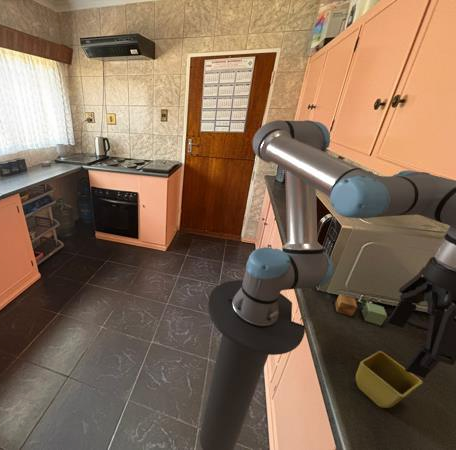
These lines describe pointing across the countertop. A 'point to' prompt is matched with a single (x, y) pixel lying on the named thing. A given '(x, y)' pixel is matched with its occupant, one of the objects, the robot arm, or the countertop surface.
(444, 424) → the countertop surface
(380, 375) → the flower pot
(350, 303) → the oak block
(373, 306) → the green block
